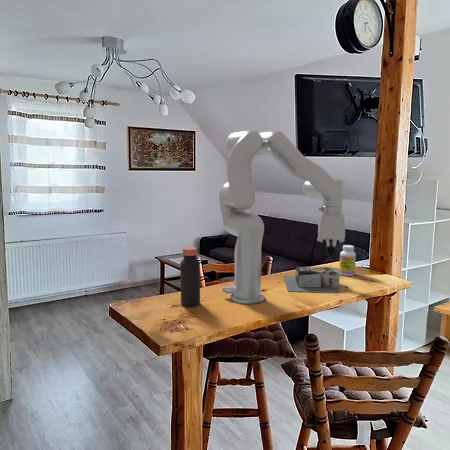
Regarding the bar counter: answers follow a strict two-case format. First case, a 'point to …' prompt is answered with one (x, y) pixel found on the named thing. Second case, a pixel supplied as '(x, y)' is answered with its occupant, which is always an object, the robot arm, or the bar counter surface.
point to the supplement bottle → (347, 261)
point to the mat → (293, 287)
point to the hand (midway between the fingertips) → (330, 255)
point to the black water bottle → (190, 278)
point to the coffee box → (317, 277)
